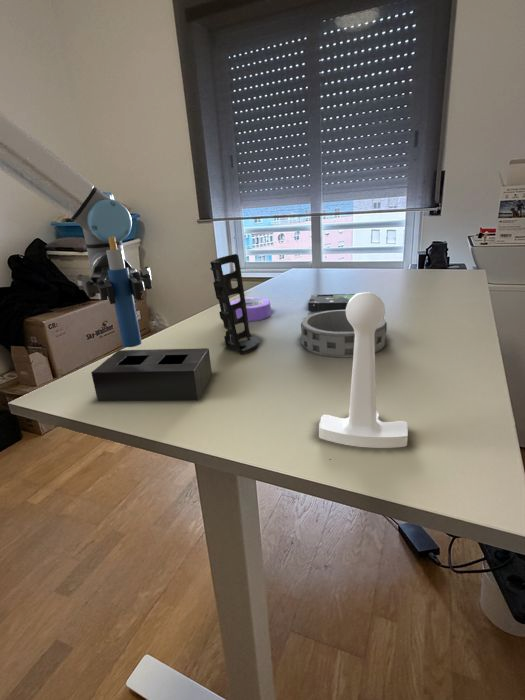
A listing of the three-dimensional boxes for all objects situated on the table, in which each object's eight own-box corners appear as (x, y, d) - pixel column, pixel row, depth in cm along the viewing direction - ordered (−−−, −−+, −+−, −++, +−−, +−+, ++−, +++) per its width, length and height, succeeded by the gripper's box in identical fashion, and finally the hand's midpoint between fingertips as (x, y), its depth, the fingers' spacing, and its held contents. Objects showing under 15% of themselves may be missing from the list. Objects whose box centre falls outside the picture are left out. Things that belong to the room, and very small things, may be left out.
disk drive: (308, 312, 114) (362, 311, 111) (307, 303, 113) (362, 301, 110) (311, 303, 123) (361, 302, 120) (310, 294, 122) (361, 292, 119)
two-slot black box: (198, 404, 66) (193, 370, 64) (98, 404, 69) (91, 372, 67) (212, 378, 76) (208, 348, 74) (124, 379, 78) (118, 350, 76)
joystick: (317, 446, 53) (314, 297, 46) (325, 417, 60) (323, 283, 53) (407, 456, 50) (418, 297, 43) (404, 424, 57) (414, 282, 50)
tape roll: (274, 319, 110) (273, 305, 109) (231, 323, 108) (230, 309, 107) (267, 308, 121) (266, 295, 119) (228, 312, 119) (227, 299, 118)
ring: (291, 335, 96) (290, 315, 94) (361, 325, 99) (361, 305, 98) (319, 363, 79) (319, 339, 77) (403, 349, 83) (404, 326, 81)
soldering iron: (119, 347, 69) (97, 238, 63) (127, 341, 72) (106, 236, 66) (137, 347, 69) (116, 237, 62) (144, 340, 72) (125, 235, 65)
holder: (258, 353, 86) (241, 258, 79) (223, 358, 86) (203, 264, 80) (260, 336, 96) (245, 251, 89) (229, 341, 97) (211, 257, 90)
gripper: (155, 285, 87) (180, 308, 66) (73, 297, 81) (73, 326, 60) (149, 249, 84) (173, 261, 64) (64, 259, 78) (60, 275, 58)
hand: (124, 293), depth 62 cm, fingers closed on soldering iron, 3 cm apart
